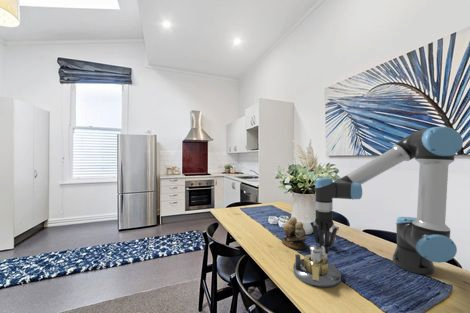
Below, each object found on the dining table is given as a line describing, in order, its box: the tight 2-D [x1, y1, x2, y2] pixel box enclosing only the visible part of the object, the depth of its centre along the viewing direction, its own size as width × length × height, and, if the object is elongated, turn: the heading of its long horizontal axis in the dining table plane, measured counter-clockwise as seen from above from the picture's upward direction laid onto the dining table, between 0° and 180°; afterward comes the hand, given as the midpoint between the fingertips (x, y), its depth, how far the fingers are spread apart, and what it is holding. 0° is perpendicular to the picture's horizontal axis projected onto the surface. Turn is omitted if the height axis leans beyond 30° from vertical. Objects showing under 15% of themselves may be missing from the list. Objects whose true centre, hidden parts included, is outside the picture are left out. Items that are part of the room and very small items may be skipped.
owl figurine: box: [281, 216, 308, 251], centre depth 124 cm, size 18×12×17 cm, turn 29°
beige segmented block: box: [303, 253, 329, 281], centre depth 93 cm, size 19×10×6 cm, turn 157°
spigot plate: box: [292, 244, 342, 289], centre depth 93 cm, size 20×20×12 cm
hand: (324, 259), depth 98 cm, fingers closed
